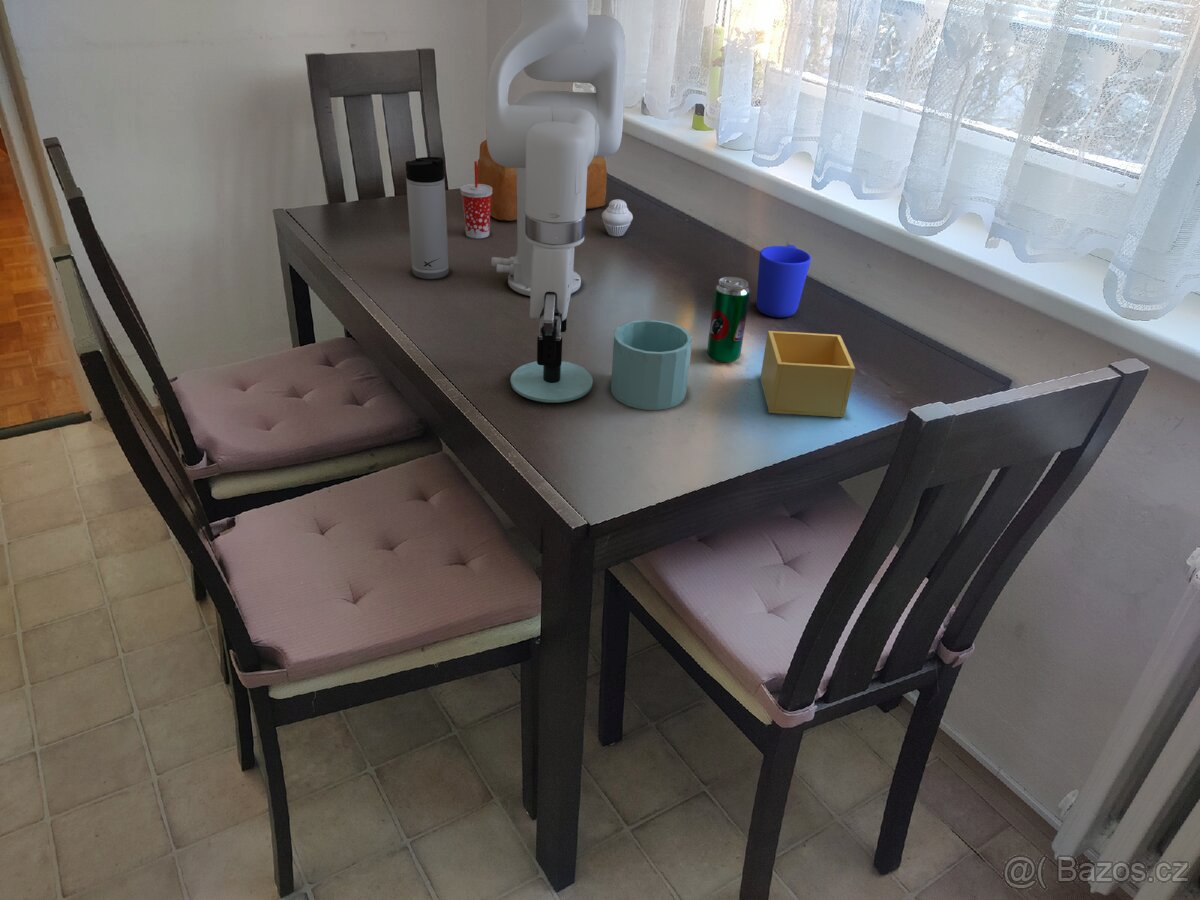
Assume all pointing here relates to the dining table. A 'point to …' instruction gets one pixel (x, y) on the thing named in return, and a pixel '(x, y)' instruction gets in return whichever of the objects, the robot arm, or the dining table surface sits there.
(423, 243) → the travel mug
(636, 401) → the pot
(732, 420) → the dining table surface
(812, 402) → the bin
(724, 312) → the soda can
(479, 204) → the beverage cup
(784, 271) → the mug
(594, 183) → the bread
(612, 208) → the muffin
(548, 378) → the pot lid
